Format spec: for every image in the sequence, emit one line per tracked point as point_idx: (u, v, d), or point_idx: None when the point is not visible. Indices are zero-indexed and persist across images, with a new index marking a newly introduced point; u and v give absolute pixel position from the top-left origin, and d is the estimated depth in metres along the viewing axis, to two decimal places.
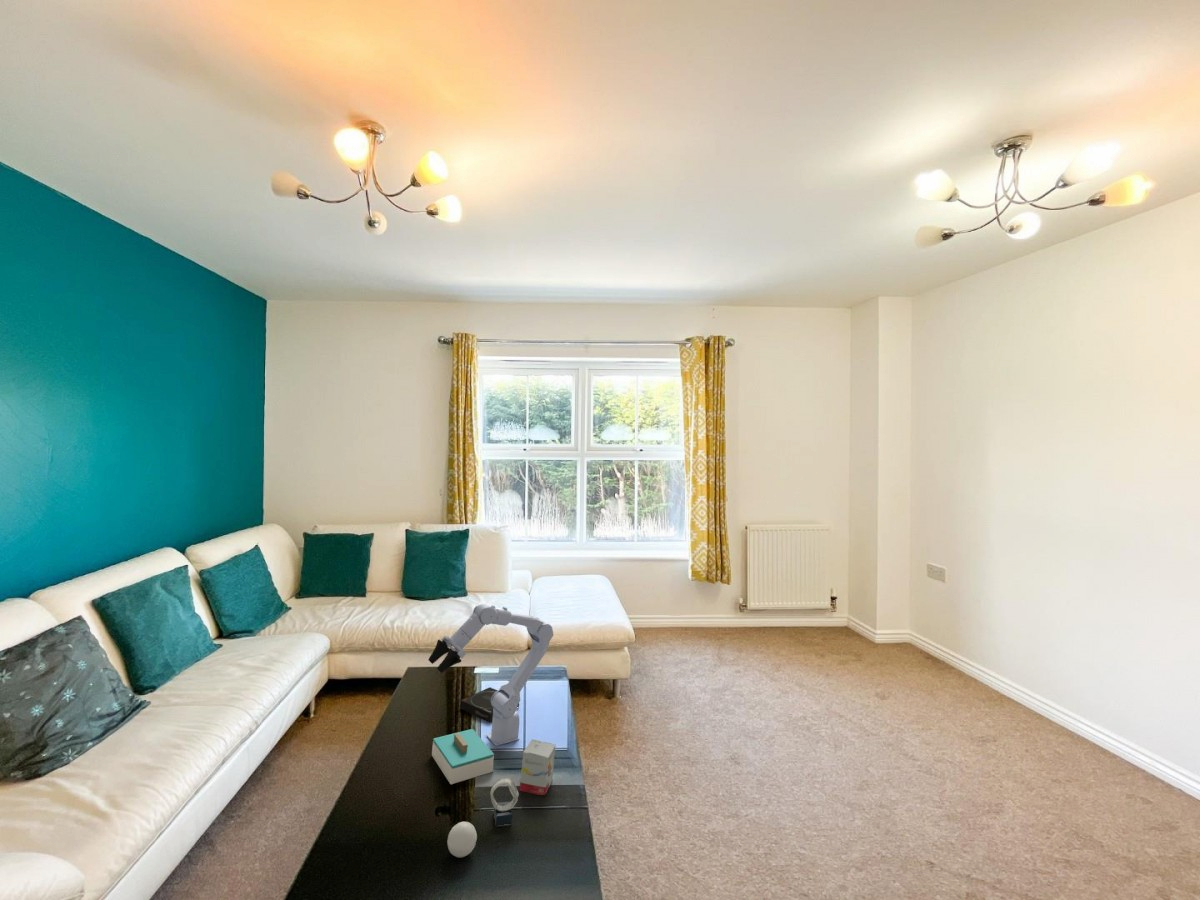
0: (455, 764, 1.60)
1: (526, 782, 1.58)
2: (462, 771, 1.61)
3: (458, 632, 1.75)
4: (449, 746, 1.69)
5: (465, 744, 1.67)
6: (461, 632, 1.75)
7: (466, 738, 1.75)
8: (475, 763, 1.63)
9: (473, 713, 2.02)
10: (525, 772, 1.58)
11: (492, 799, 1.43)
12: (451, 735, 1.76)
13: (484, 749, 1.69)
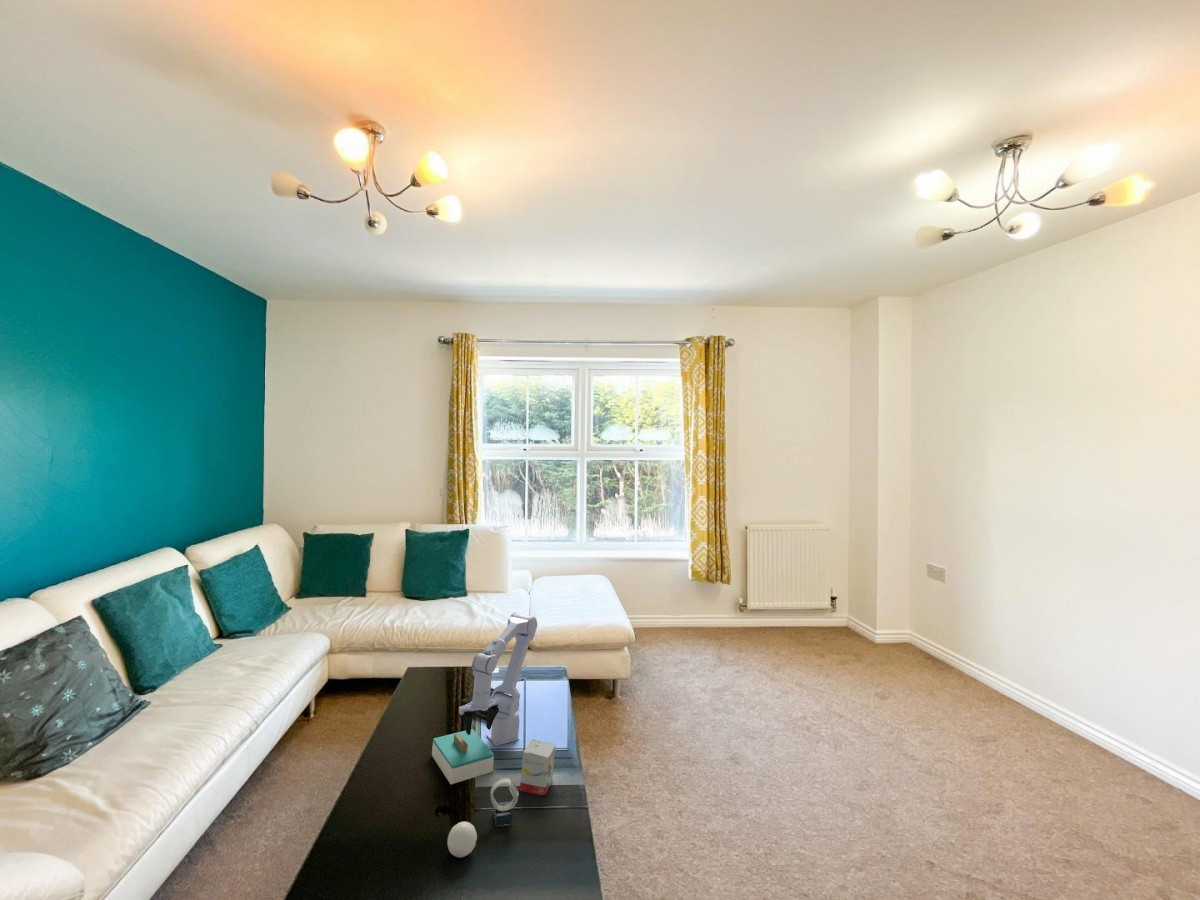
0: (455, 764, 1.60)
1: (526, 782, 1.58)
2: (462, 771, 1.61)
3: (486, 696, 1.72)
4: (449, 746, 1.69)
5: (465, 744, 1.67)
6: (488, 694, 1.72)
7: (466, 738, 1.75)
8: (475, 763, 1.63)
9: (473, 713, 2.02)
10: (525, 772, 1.58)
11: (492, 799, 1.43)
12: (451, 735, 1.76)
13: (484, 749, 1.69)
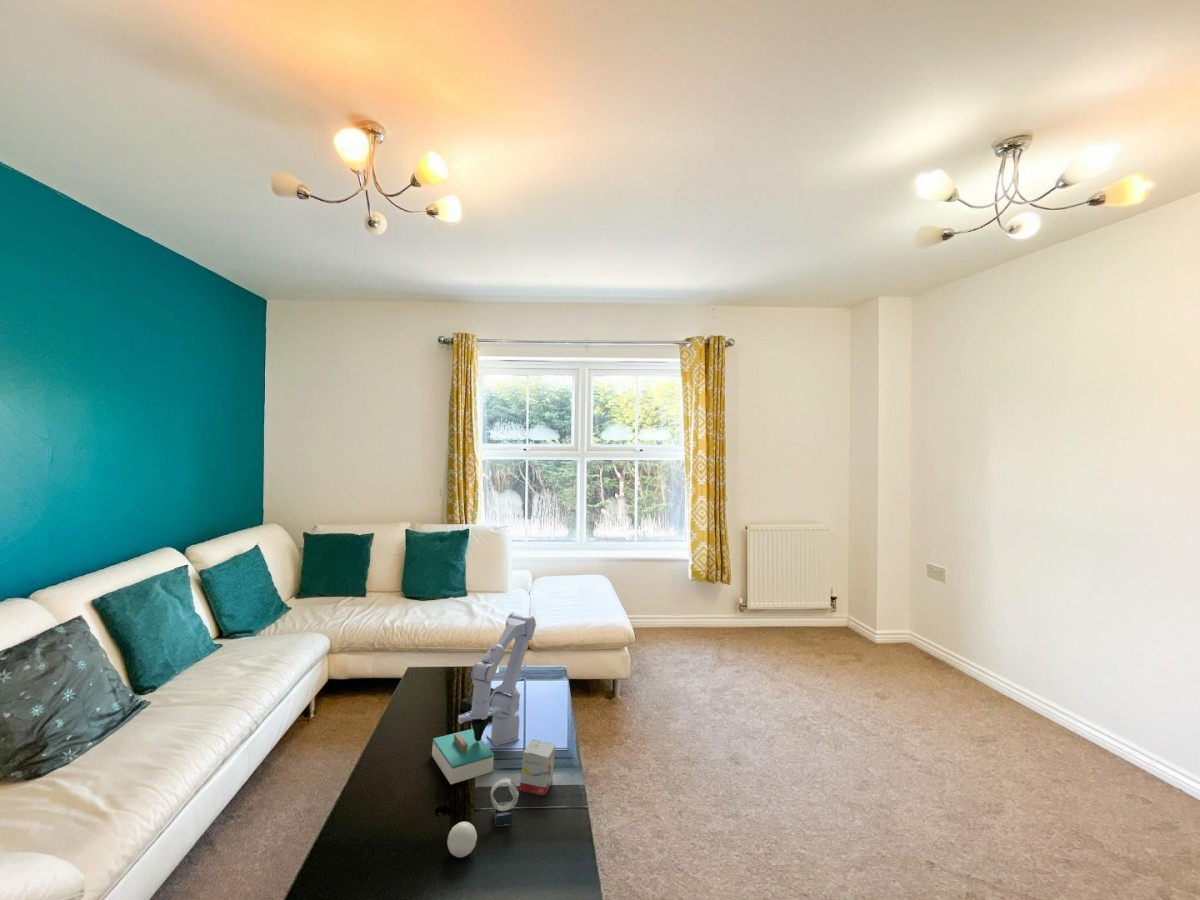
0: (455, 764, 1.60)
1: (526, 782, 1.58)
2: (462, 771, 1.61)
3: (485, 705, 1.72)
4: (449, 746, 1.69)
5: (465, 744, 1.67)
6: (487, 702, 1.72)
7: (466, 738, 1.75)
8: (475, 763, 1.63)
9: None
10: (525, 772, 1.58)
11: (492, 799, 1.43)
12: (451, 735, 1.76)
13: (484, 749, 1.69)
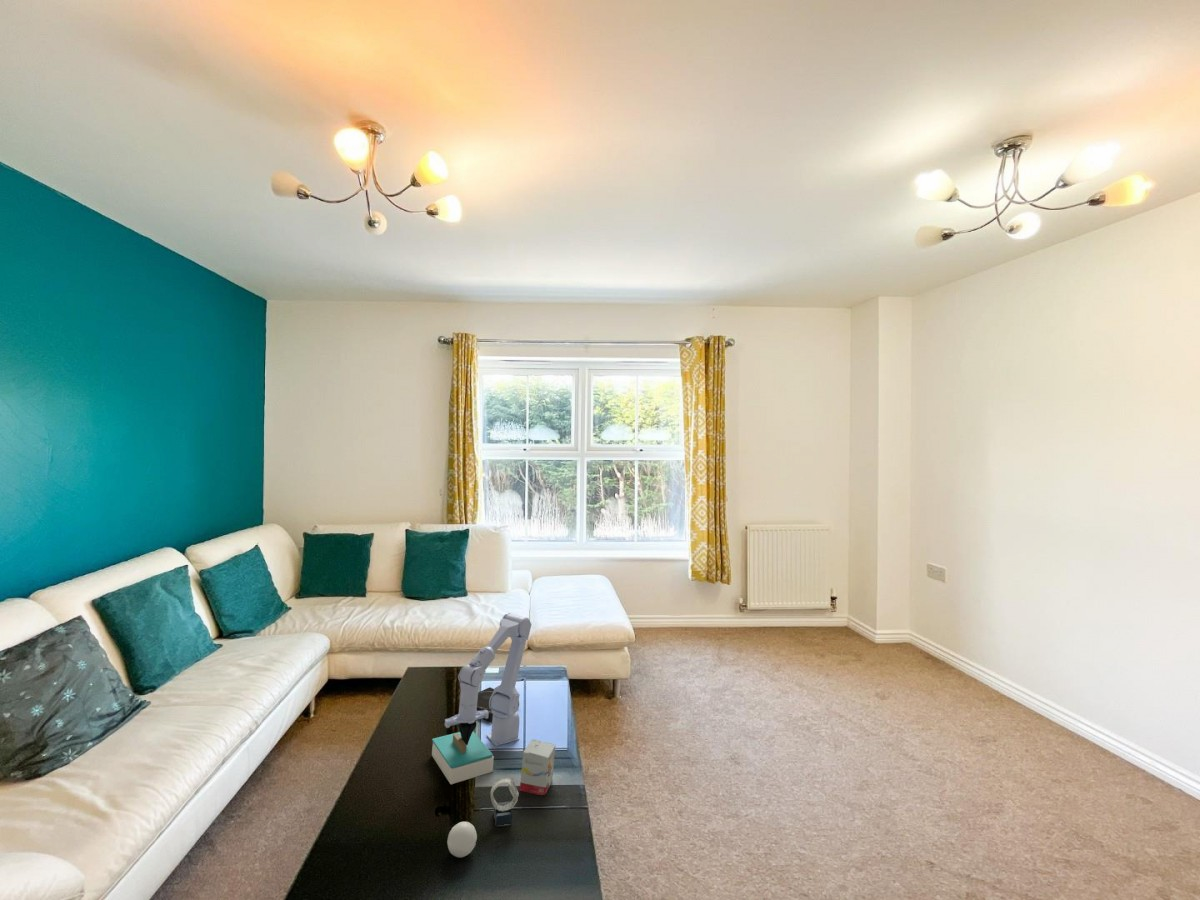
0: (454, 764, 1.60)
1: (526, 782, 1.58)
2: (462, 771, 1.61)
3: (472, 709, 1.69)
4: (448, 746, 1.69)
5: (464, 744, 1.67)
6: (475, 706, 1.70)
7: None
8: (475, 763, 1.63)
9: None
10: (525, 772, 1.58)
11: (492, 799, 1.43)
12: (450, 735, 1.76)
13: (483, 749, 1.69)
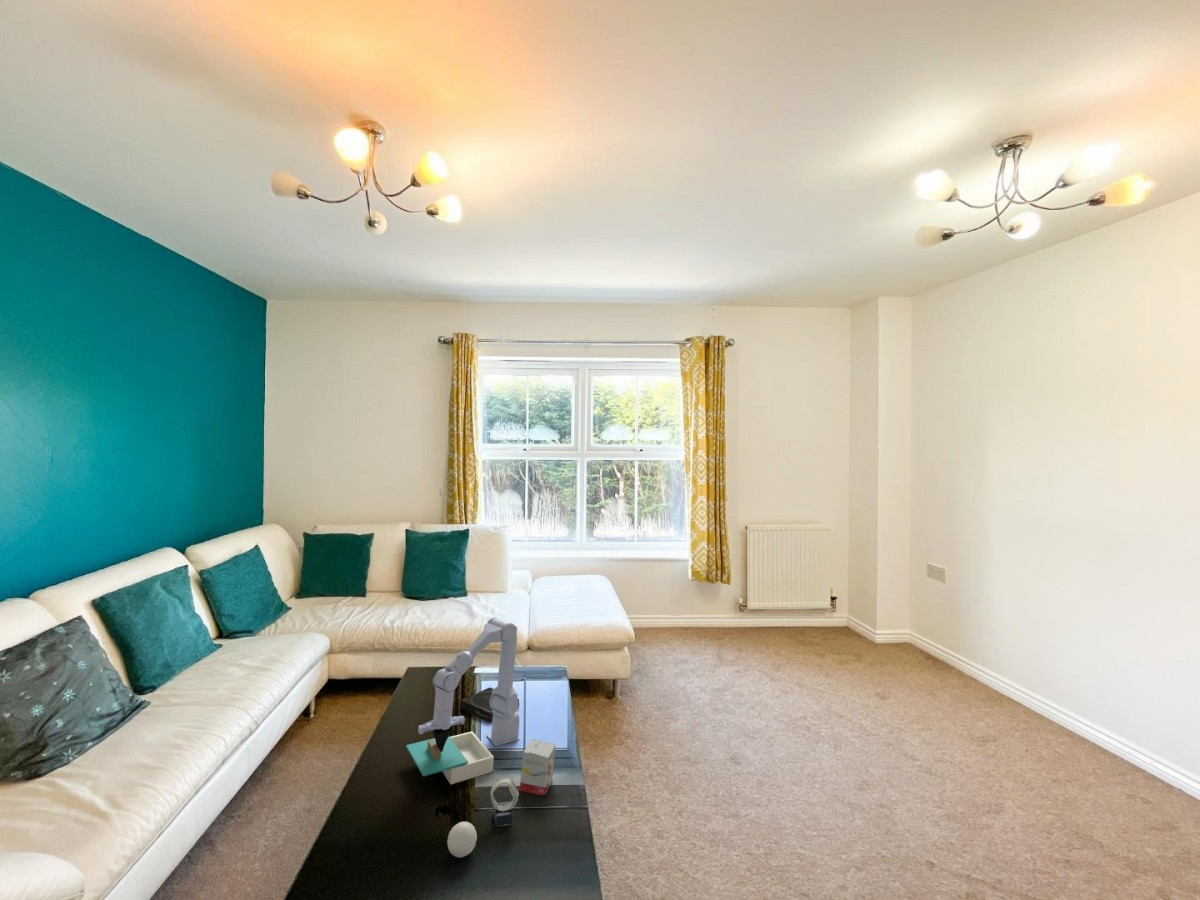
0: (426, 772, 1.55)
1: (526, 782, 1.58)
2: (462, 771, 1.61)
3: (447, 715, 1.64)
4: (422, 753, 1.64)
5: (438, 751, 1.62)
6: (450, 712, 1.65)
7: None
8: (475, 763, 1.63)
9: (473, 713, 2.02)
10: (525, 772, 1.58)
11: (492, 799, 1.43)
12: (425, 742, 1.71)
13: (458, 756, 1.64)
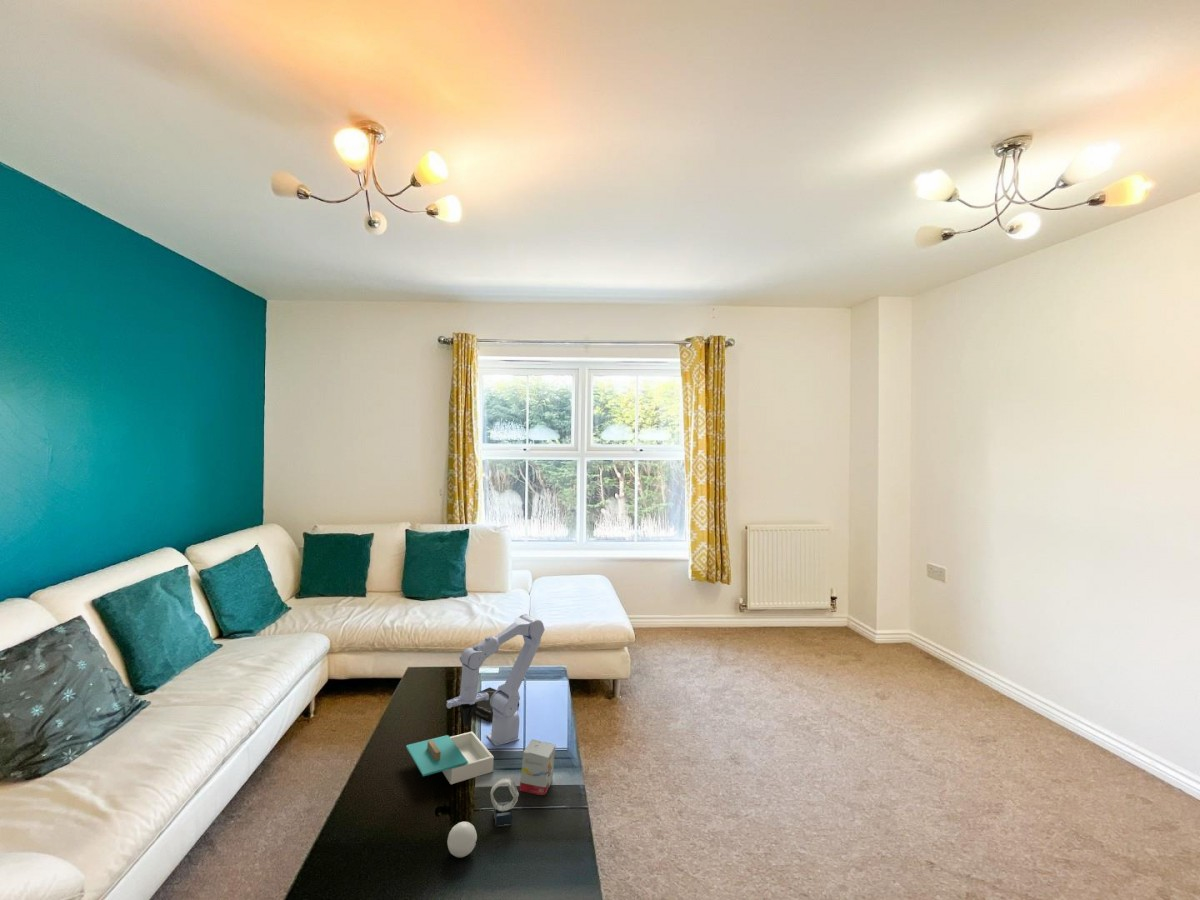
0: (426, 772, 1.54)
1: (526, 782, 1.58)
2: (462, 771, 1.61)
3: (473, 691, 1.75)
4: (422, 753, 1.64)
5: (438, 751, 1.62)
6: (475, 688, 1.76)
7: (440, 744, 1.70)
8: (475, 763, 1.63)
9: (473, 713, 2.02)
10: (525, 772, 1.58)
11: (492, 799, 1.43)
12: (425, 742, 1.71)
13: (458, 756, 1.64)
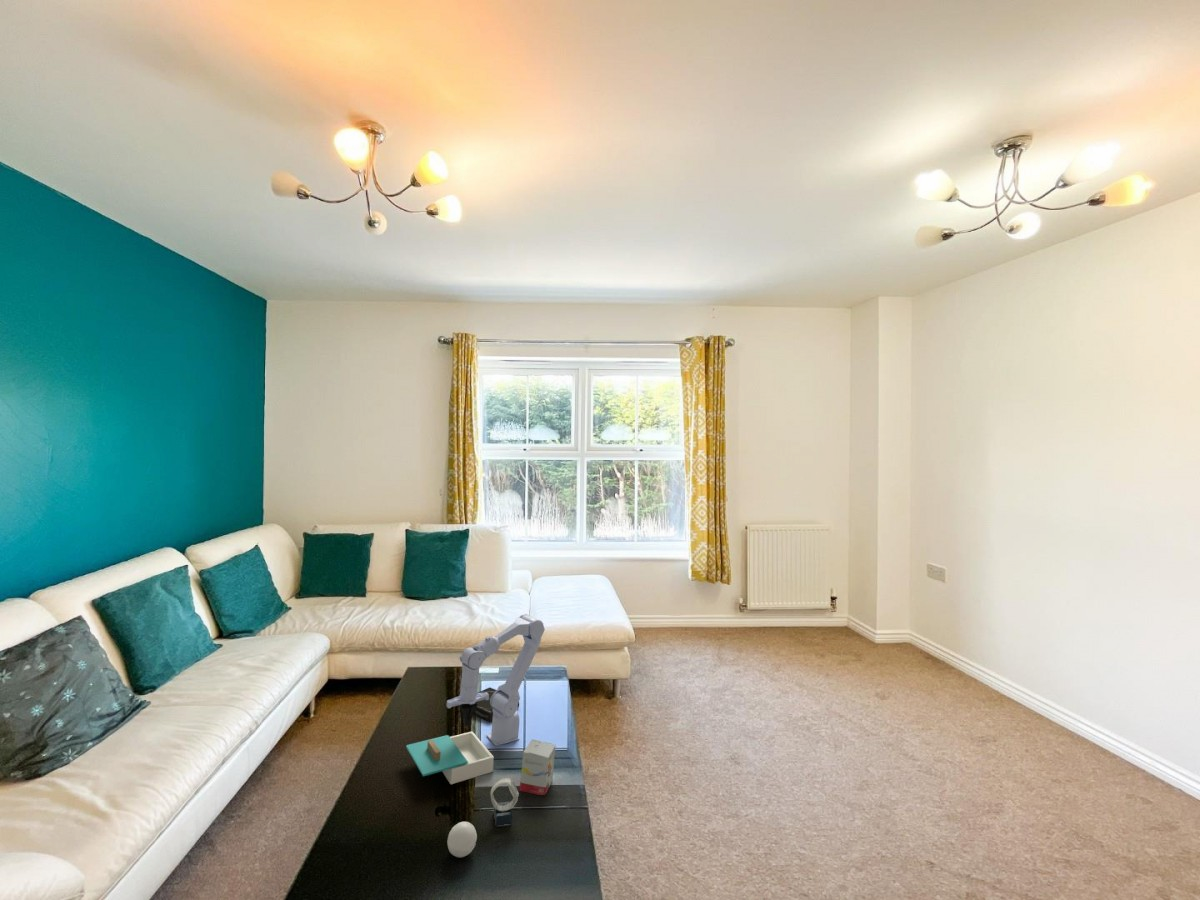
0: (426, 772, 1.54)
1: (526, 782, 1.58)
2: (462, 771, 1.61)
3: (473, 690, 1.75)
4: (422, 753, 1.64)
5: (438, 751, 1.62)
6: (475, 688, 1.76)
7: (440, 744, 1.70)
8: (475, 763, 1.63)
9: (473, 713, 2.02)
10: (525, 772, 1.58)
11: (492, 799, 1.43)
12: (425, 742, 1.71)
13: (458, 756, 1.64)
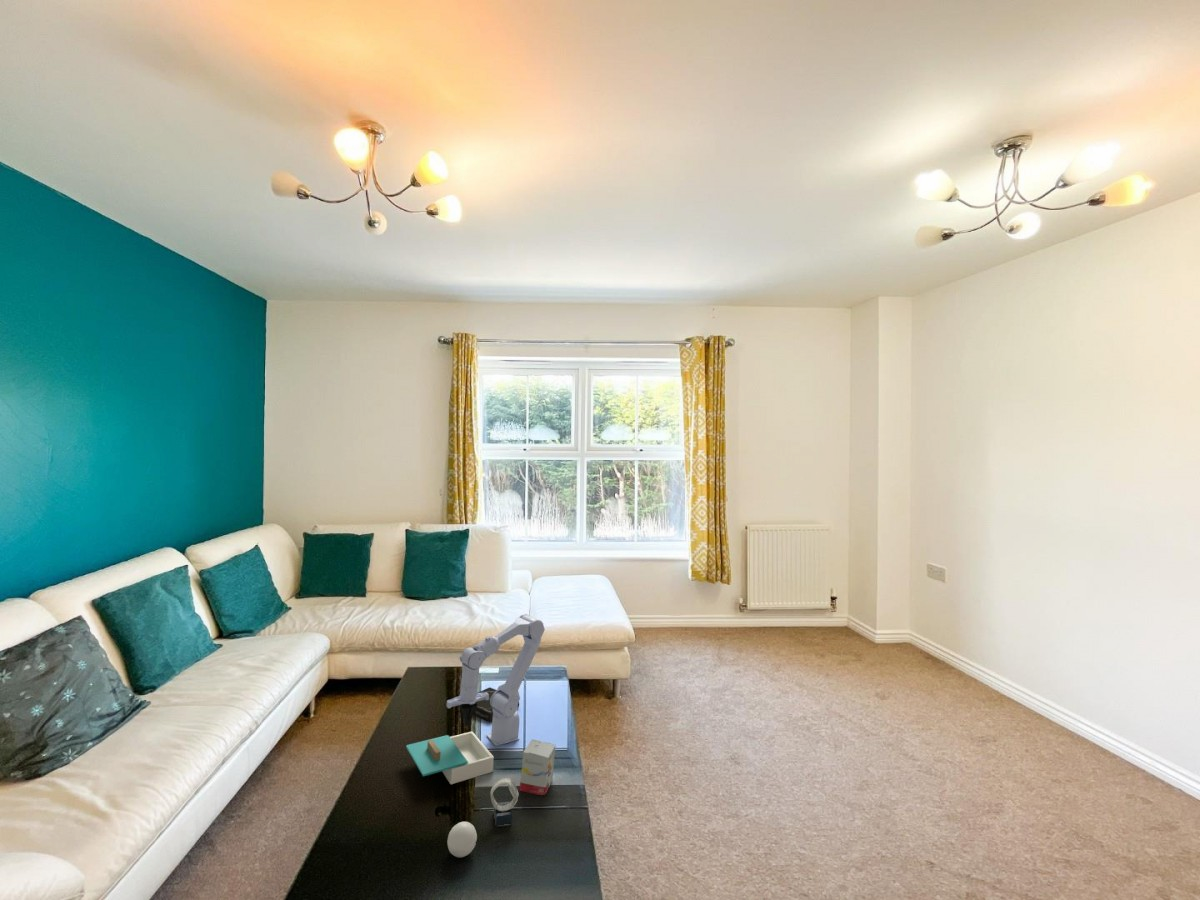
0: (426, 772, 1.54)
1: (526, 782, 1.58)
2: (462, 771, 1.61)
3: (473, 690, 1.75)
4: (422, 753, 1.64)
5: (438, 751, 1.62)
6: (475, 688, 1.76)
7: (440, 744, 1.70)
8: (475, 763, 1.63)
9: (473, 713, 2.02)
10: (525, 772, 1.58)
11: (492, 799, 1.43)
12: (425, 742, 1.71)
13: (458, 756, 1.64)
